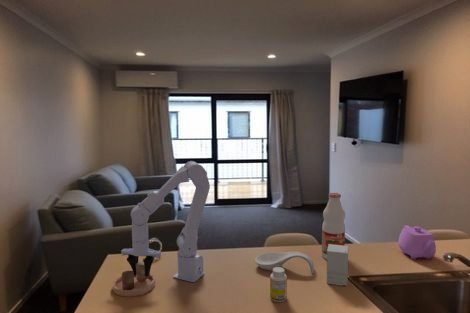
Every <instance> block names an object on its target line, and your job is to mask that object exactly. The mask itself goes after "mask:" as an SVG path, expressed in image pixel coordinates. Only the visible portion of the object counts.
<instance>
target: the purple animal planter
mask: <svg viewBox="0 0 470 313" xmlns="http://www.w3.org/2000/svg"><path fill="white" fill-rule="evenodd" d="M398 247H399V249H400V250H401V253H402V254H405V255H409V258H410V259H411V260H417V259H418V258H423V259H427V260H430V259H431V257H434V256H435V254H436V251H437V249H436V248H437V246H436V242H435V237H434V235H433V233H432V232H430V231H428V230H427V229H425V228H422V227H420V226H418V225H417V226H412V227H411V226H409V225H403V228H402V229H401V232H400V234H399V237H398Z"/></svg>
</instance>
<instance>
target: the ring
mask: <svg viewBox="0 0 470 313" xmlns="http://www.w3.org/2000/svg"><path fill="white" fill-rule="evenodd" d="M153 242H157V243H158V244H159V248H160V249H159V250H158V251H161V252H162V250H163V244H162V242H161V241H160V240H159V238H157V237H152V238H150V239H149V245H150V244H151V243H153Z"/></svg>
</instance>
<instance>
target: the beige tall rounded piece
mask: <svg viewBox="0 0 470 313" xmlns="http://www.w3.org/2000/svg"><path fill="white" fill-rule="evenodd" d="M147 278H148V276H145V265H144V262H143V261H140V262H139V261H138V263H137V264H136V280H138V281H144V280H146V279H147Z"/></svg>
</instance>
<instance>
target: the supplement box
mask: <svg viewBox="0 0 470 313" xmlns="http://www.w3.org/2000/svg"><path fill="white" fill-rule="evenodd" d="M348 272H349V246H348V245H344V246H342V245H333V244H328V249H327V259H326V284H327V285H329V284H330V285H335V284H336V285H337V286H342V285H345V286H344V287H347V286H348V275H349V274H348Z"/></svg>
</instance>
